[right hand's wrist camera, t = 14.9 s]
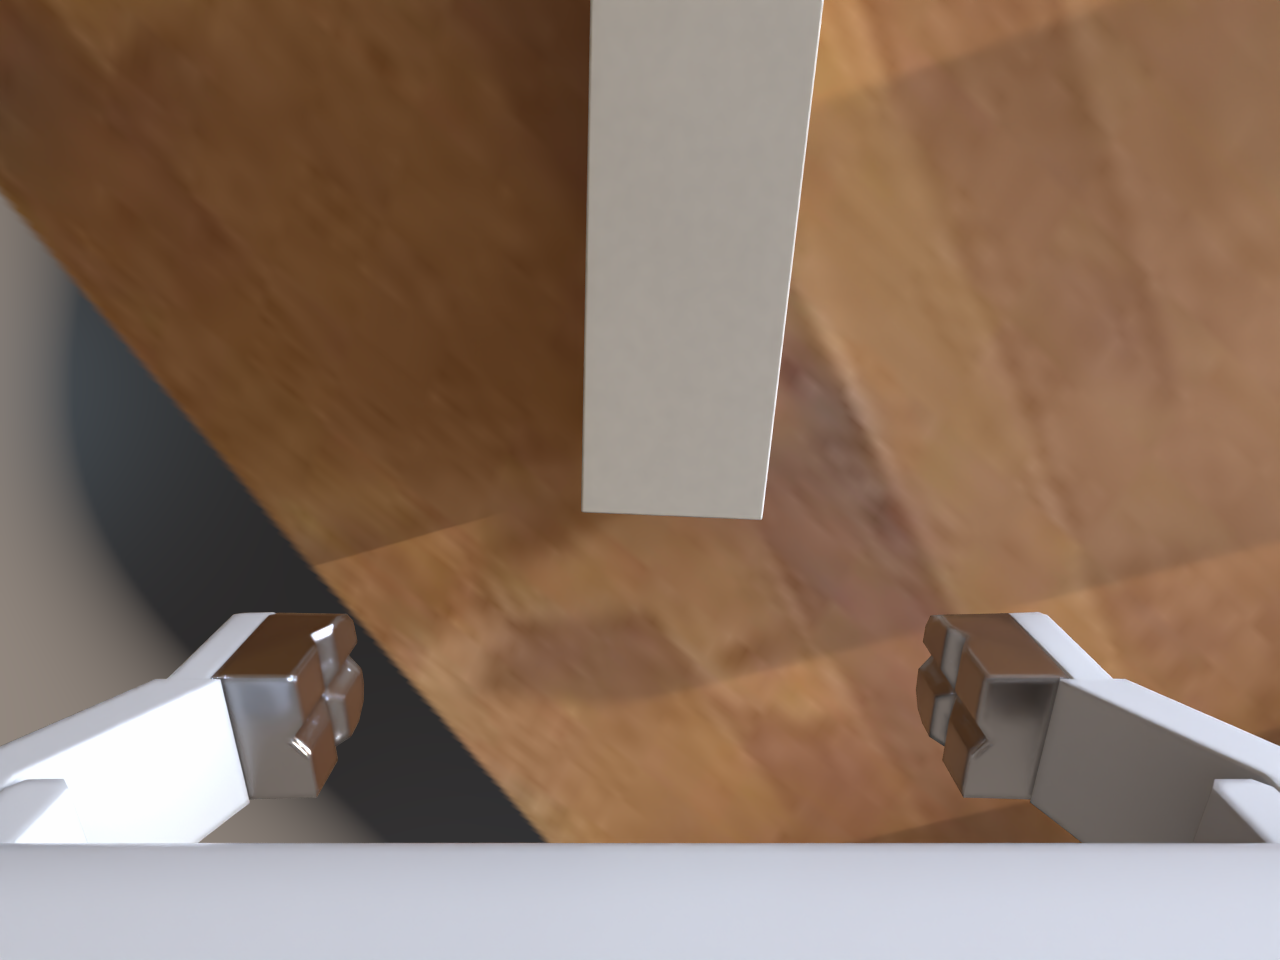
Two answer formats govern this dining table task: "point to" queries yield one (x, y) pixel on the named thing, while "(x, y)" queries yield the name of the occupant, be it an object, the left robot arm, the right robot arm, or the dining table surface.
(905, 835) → the dining table surface
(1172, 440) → the dining table surface
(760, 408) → the post
